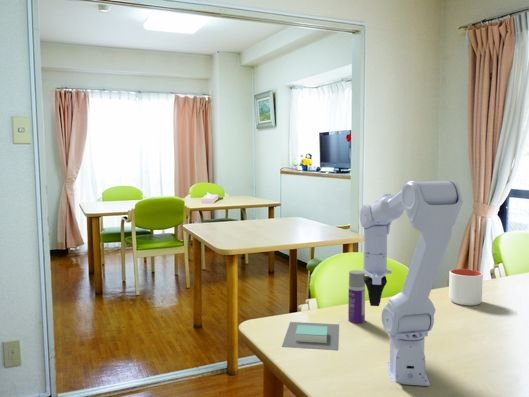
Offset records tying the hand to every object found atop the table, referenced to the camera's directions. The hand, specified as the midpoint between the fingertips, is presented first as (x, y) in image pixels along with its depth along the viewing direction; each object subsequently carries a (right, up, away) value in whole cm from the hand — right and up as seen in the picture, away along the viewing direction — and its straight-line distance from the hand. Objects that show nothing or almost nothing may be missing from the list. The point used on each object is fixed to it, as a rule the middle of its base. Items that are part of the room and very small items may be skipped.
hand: (374, 305), depth 115 cm
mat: (-15, -10, +7) cm, 19 cm away
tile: (-16, -9, +2) cm, 18 cm away
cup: (+39, -8, +36) cm, 53 cm away
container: (-1, -9, +17) cm, 20 cm away
